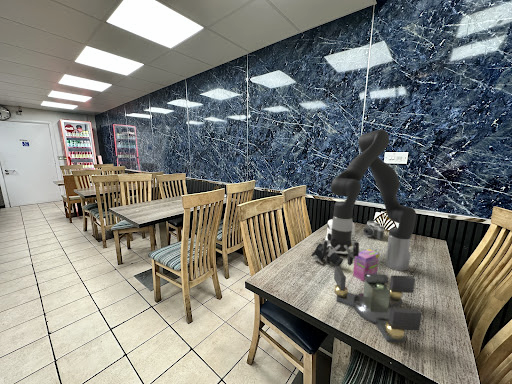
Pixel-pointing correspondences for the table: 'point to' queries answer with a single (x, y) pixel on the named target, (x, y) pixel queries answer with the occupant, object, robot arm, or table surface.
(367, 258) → the box
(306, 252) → the table surface
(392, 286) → the knob
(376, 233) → the camera
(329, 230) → the milk container
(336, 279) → the grey upright plank
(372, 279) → the tribrach
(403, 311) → the knob
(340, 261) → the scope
